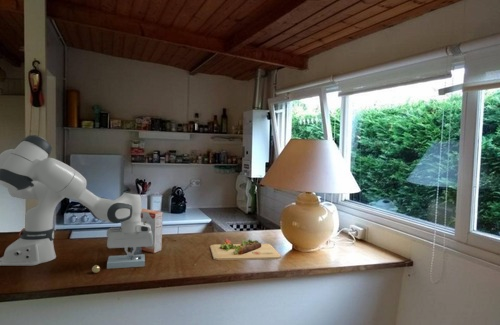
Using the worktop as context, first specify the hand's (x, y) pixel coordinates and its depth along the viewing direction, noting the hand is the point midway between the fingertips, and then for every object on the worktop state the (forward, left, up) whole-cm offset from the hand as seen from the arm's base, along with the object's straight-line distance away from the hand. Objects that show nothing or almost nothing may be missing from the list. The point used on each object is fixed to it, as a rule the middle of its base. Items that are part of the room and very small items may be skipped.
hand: (130, 256), depth 158 cm
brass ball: (-14, -9, -2) cm, 16 cm away
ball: (+2, 0, -2) cm, 3 cm away
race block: (+2, +9, -1) cm, 9 cm away
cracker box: (+8, +20, -4) cm, 22 cm away
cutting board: (+58, +7, -4) cm, 58 cm away
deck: (-2, 0, -3) cm, 4 cm away
